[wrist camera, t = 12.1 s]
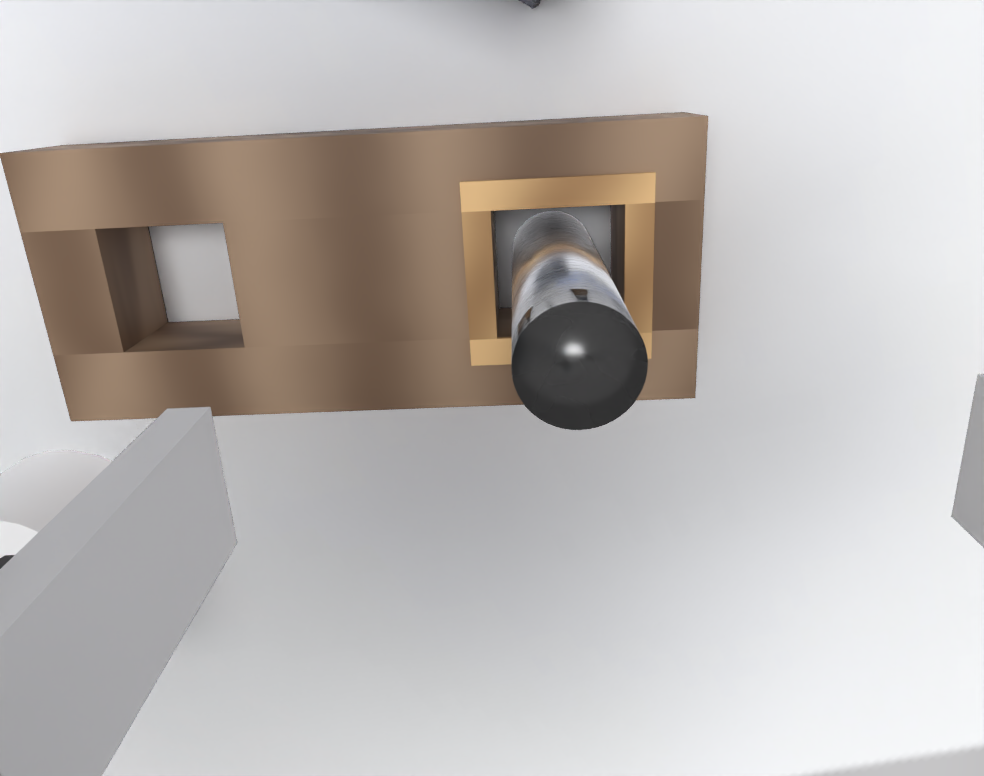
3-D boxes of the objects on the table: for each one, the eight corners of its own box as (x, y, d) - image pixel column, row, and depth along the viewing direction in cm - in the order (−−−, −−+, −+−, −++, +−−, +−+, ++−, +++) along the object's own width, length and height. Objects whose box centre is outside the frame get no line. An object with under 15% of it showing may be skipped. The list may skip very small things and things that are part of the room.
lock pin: (514, 291, 32) (514, 432, 19) (510, 212, 31) (508, 304, 18) (592, 287, 32) (646, 427, 19) (591, 208, 31) (649, 298, 18)
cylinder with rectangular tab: (2, 606, 38) (-208, 819, 27) (-28, 441, 35) (-280, 606, 24) (184, 621, 38) (49, 839, 27) (171, 457, 35) (11, 630, 24)
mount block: (119, 384, 34) (68, 423, 30) (62, 145, 30) (-5, 153, 26) (674, 362, 33) (696, 400, 29) (683, 112, 29) (709, 116, 25)
